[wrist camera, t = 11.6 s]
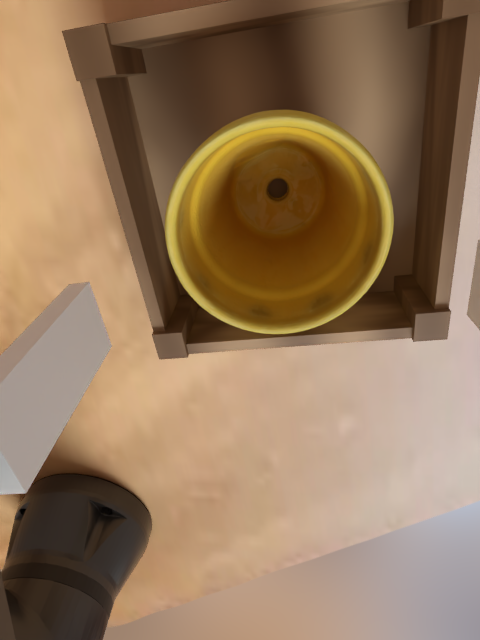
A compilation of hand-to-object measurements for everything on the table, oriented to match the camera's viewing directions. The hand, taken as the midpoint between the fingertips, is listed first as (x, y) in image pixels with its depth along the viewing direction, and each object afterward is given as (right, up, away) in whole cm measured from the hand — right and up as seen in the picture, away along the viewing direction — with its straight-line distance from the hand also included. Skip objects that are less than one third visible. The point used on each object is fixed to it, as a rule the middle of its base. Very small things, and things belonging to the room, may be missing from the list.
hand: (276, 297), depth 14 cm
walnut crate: (+2, +8, +13) cm, 16 cm away
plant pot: (+1, +8, +13) cm, 15 cm away
